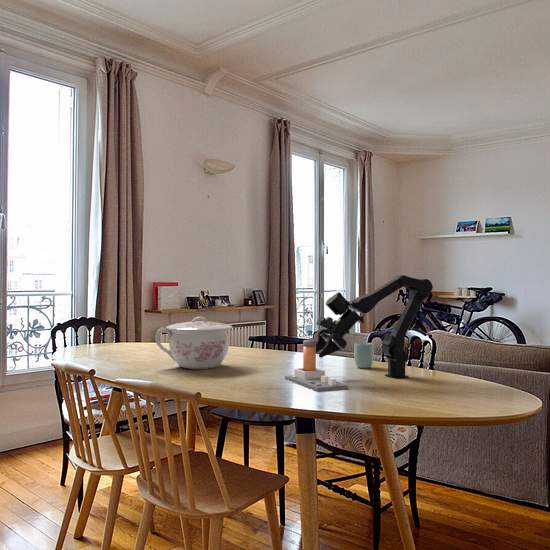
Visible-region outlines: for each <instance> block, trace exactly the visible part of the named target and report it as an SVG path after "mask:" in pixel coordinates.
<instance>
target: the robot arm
mask: <svg viewBox="0 0 550 550" xmlns="http://www.w3.org/2000/svg"><path fill="white" fill-rule="evenodd" d="M401 288H406V289H409V291H408V300H407V302H406V304H405V306H404V308H403V310H402V312H401V315H400V317H399V319H398V320H397V323H396V325H395V327H394V328H393V330H392V332H391V333H386V334H385V335H384V337H383V339H382V341H381V342H380V344H382V345H381V347H380V348H381V351H382V353H383V354H384V356H385V358H386V359H387V361H388V363H387V373H385V374H384V376H386V377H388V378H392V379H399V378H400V379H402V378H409V375H408V374H406V363H407V362H408V361H409V357H410V356H409V354H408V353H407V352H405V350H404V348H405V344H406V343H405V341H406V339H405V338H406V335H407V334H408V331H409V329H410V326H411V324H412V323H413V320H414V318H415V316H416V314H417V312H418V310H419V308H420V307H421V304H422V303H423V302H424V301H425V300H426V299H427V298H428V297H429V295H430V294H431V292H432V291H433V288H434V286H433V283H432V281H431V280H429V279H426V278H414V277H411V276H407V275H404V274H403V275H402V274H398V275H396V277H395V278H393V279H391V280H390V281H388V282H386V283H385V284H383V285H382V286H380V287H378V288H377V289H375V290H373V291H372V292H369V293H366V294H363V295H360V296H357V297H355V298H354V299H353V300H347V299H346V298H345V297H344V295H343V294H342V293H341V292H338V291H337V292H336V293H335V294H333V295H332V296H330V297H329V298H328V299H327V300H326V301H325V306H326V307H328V309H329V310H330V311H331V312H332V313H333V314H334V315H335V316H338V315H339V316H340V317H339V318H338V319H336V320H334V319H333V318H334V317H333V318H332V317H331V316H326V317H323V316H318V319H317V321H316V323H315V324H316V325H317V326H320V327H323V328H319V329H318V330H317V331H316V337H317V340H316V354H317V353H318V352H320V353H319V355H318V357H319V358H320V359H321V358H324V357H326V356H328V355H330V354H333V353H336V352H338V351H341V350H344V349H345V348H346V347H347V346H348V345H347V343H348V341H347V340H346V339H345V338H344V336H346V335H348V334H350V333H351V329H352V328H353V327H354V326H355V325H356V324H357V323H359V324H365V322H364V317H365V316H363V315H360V314H368V313H370V311H372V310H373V309H374V308H375V307H376V306H377V305H378V304H379V302H380V301H383V300H384V299H385V298H387V297H389V296H390V295H392V294H393V293H395V292H396V291H398V290H400V289H401ZM352 309H353V310H352ZM358 313H360V314H358Z"/></svg>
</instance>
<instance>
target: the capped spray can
mask: <svg viewBox="0 0 550 550" xmlns="http://www.w3.org/2000/svg"><path fill="white" fill-rule="evenodd" d="M316 342H317V340H314V339H304V340H303V341H302V344H303V345H302V351H303V352H302V353H303V354H302V363H303V364H302V368H303V371H305V372H310V371H316V368H317V353H316Z"/></svg>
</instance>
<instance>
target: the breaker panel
mask: <svg viewBox="0 0 550 550" xmlns="http://www.w3.org/2000/svg"><path fill="white" fill-rule="evenodd" d="M293 370H294V371H293V374H288V375H284V380H286V381H288V380H289V382H291V381H292V382H291V383H294V384H297V385H299V386H301V387H304V388H307V389H309V390H311V389H312V391H314V392H316V391H317V392H327V391H329V392H330V391H340V390H348V389H349V384H347V383H346V384H345V383H343V382H340V381H337V379H336V378H334V377H329V376H327V375H326V370H324V369H320V368H317V367H316V371H310V372H305V371H303V367H300V368H297V367H296V368H294V369H293Z"/></svg>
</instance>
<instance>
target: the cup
mask: <svg viewBox="0 0 550 550" xmlns="http://www.w3.org/2000/svg"><path fill="white" fill-rule="evenodd" d="M374 346H375V345H374V343H372V342H365V341H364V342H354V346H353V347H354V348H353V350H354V351H353V354H354V363H355V366H356V367H357V368H359V369H370V368H371V367H372V365H373V363H374V356H375V355H374V348H375V347H374Z"/></svg>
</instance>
